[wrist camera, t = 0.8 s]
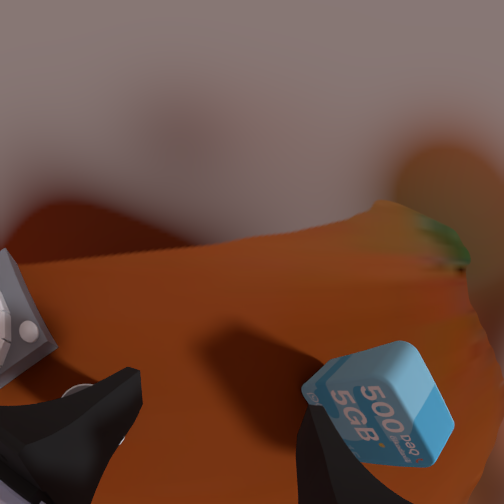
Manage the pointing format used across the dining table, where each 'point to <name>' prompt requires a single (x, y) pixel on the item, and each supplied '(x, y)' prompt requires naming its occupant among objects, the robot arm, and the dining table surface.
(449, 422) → the data package
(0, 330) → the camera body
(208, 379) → the dining table surface
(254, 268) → the dining table surface
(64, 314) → the dining table surface
